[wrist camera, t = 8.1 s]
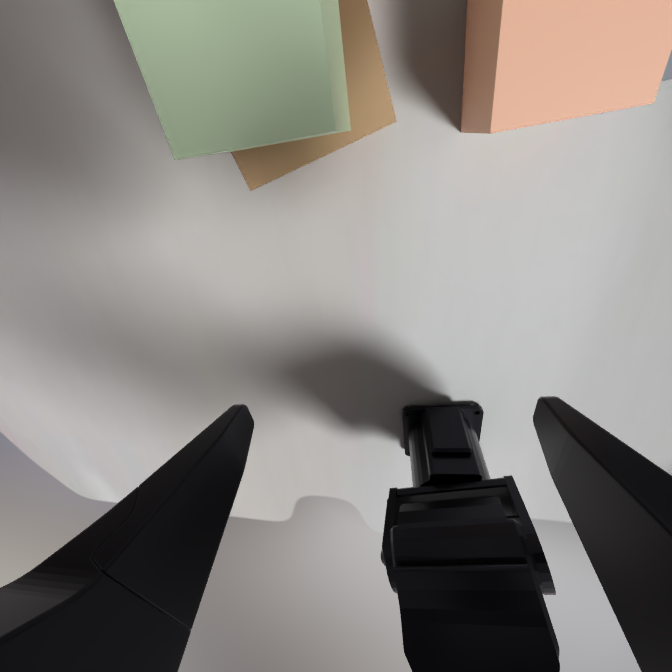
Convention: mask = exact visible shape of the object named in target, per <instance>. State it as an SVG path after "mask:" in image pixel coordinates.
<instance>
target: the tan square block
mask: <svg viewBox="0 0 672 672" xmlns="http://www.w3.org/2000/svg"><path fill="white" fill-rule="evenodd" d="M338 3H339V13H340V23H341V33H342V44H343V54H344V64H345V74H346V85H347V95H348V105H349V115H350V126H351V131H346V132H340V133H334V134H329V135H323V136H318V137H312V138H306V139H301V140H295V141H290V142H284V143H278V144H273V145H267V146H261V147H256V148H250V149H245V150H239V151H232V152H231V153H232V155H233V157H234V159H235V161H236V163H237V165H238V167H239V169H240V171H241V173H242V175H243V177H244V179H245V181H246V183H247V185H248V187H249V189H250V191H251V190H253V189H255V188H258V187H260V186H262V185H264V184H266V183H268V182H271V181H273V180H275V179H277V178H279V177H281V176H283V175H285V174H288V173H290V172H292V171H294V170H296V169H298V168H300V167H302V166H304V165H306V164H308V163H311V162H313V161H315V160H317V159H319V158H321V157H323V156H325V155H327V154H329V153H332V152H334V151H336V150H338V149H340V148H342V147H344V146H346V145H348V144H350V143H353V142H355V141H357V140H359V139H361V138H363V137H365V136H367V135H369V134H371V133H374V132H376V131H378V130H380V129H382V128H384V127H386V126H388V125H390V124H392V123H394V122H396V118H395V114H394V109H393V105H392V101H391V97H390V93H389V89H388V85H387V81H386V76H385V72H384V68H383V64H382V60H381V56H380V52H379V48H378V43H377V39H376V35H375V31H374V27H373V23H372V19H371V15H370V10H369V6H368V2H367V0H338Z"/></svg>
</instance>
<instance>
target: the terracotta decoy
mask: <svg viewBox="0 0 672 672" xmlns="http://www.w3.org/2000/svg"><path fill="white" fill-rule="evenodd" d="M671 50H672V0H468V1H467V21H466V40H465V59H464V79H463V98H462V118H461V132H464V133H496V132H501V131H506V130H512V129H517V128H523V127H528V126H533V125H539V124H544V123H550V122H555V121H560V120H566V119H571V118H576V117H582V116H587V115H593V114H598V113H603V112H609V111H614V110H620V109H625V108H630V107H636V106H641V105H647V104H652V103H654V101H655V98H656V95H657V92H658V89H659V86H660V83H661V80H662V77H663V74H664V71H665V68H666V65H667V62H668V59H669V56H670V53H671Z"/></svg>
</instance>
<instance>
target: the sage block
mask: <svg viewBox="0 0 672 672" xmlns="http://www.w3.org/2000/svg"><path fill="white" fill-rule="evenodd" d="M114 3H115V5H116V8H117V11H118V13H119V16H120V18H121V21H122V24H123V26H124V29H125V32H126V34H127V37H128V39H129V42H130V45H131V47H132V50H133V52H134V55H135V58H136V60H137V63H138V65H139V68H140V71H141V73H142V76H143V78H144V81H145V84H146V86H147V89H148V92H149V94H150V97H151V99H152V102H153V105H154V107H155V110H156V112H157V115H158V118H159V120H160V123H161V125H162V128H163V131H164V133H165V136H166V138H167V141H168V144H169V146H170V149H171V151H172V154H173V157H174V159H175V160H177V159H184V158H191V157H198V156H205V155H212V154H218V153H225V152H232V151H239V150H245V149H250V148H256V147H261V146H267V145H273V144H278V143H284V142H290V141H295V140H301V139H306V138H312V137H318V136H323V135H329V134H334V133H340V132H346V131H351V126H350V115H349V105H348V95H347V85H346V74H345V64H344V54H343V44H342V33H341V23H340V13H339V3H338V0H114Z"/></svg>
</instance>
